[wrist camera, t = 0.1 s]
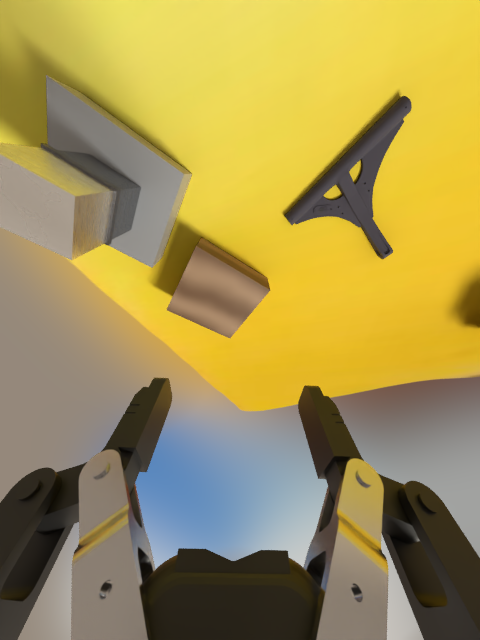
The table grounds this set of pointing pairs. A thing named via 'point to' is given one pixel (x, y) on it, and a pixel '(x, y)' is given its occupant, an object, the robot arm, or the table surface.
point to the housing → (63, 199)
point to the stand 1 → (121, 166)
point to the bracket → (359, 195)
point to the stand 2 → (217, 290)
